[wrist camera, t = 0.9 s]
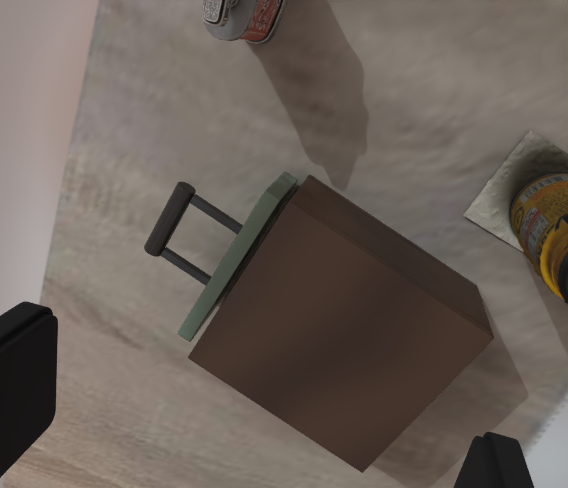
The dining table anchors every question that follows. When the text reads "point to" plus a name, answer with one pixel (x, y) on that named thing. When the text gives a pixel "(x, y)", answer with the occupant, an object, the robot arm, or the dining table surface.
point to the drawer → (235, 254)
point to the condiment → (531, 208)
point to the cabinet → (343, 326)
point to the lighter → (243, 19)
